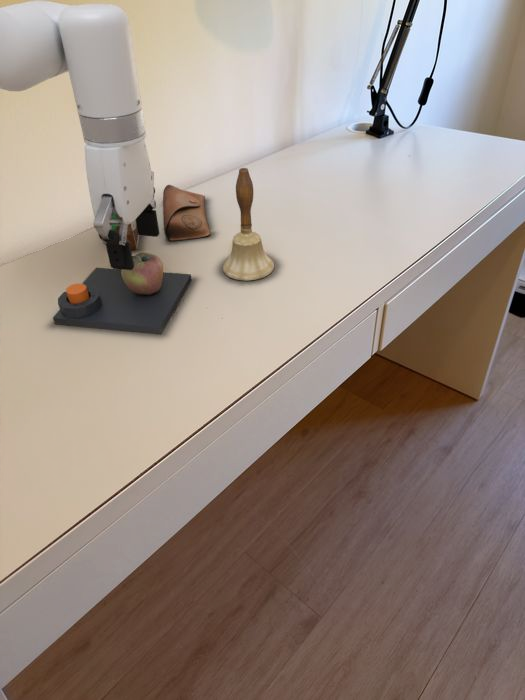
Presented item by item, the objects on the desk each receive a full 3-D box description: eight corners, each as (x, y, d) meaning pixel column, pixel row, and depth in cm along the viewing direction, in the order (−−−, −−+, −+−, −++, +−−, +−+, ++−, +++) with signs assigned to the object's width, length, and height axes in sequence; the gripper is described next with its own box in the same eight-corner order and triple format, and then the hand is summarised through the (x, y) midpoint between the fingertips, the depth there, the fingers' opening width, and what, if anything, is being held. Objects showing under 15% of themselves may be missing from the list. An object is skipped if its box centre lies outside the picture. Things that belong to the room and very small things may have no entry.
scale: (55, 324, 75) (48, 307, 73) (97, 273, 85) (93, 257, 84) (161, 334, 72) (157, 316, 70) (191, 280, 83) (189, 263, 81)
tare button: (65, 303, 74) (62, 293, 73) (74, 292, 76) (71, 282, 75) (83, 305, 74) (80, 294, 73) (92, 294, 76) (89, 284, 75)
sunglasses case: (213, 233, 93) (190, 205, 90) (182, 256, 95) (158, 229, 91) (205, 194, 107) (184, 168, 103) (178, 214, 109) (156, 189, 105)
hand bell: (243, 250, 89) (236, 155, 79) (284, 263, 85) (282, 165, 75) (212, 272, 84) (200, 173, 74) (254, 286, 80) (247, 185, 70)
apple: (121, 307, 75) (111, 271, 72) (130, 278, 81) (122, 244, 78) (163, 305, 75) (155, 269, 71) (169, 276, 81) (163, 242, 78)
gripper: (113, 105, 71) (135, 222, 82) (49, 147, 58) (84, 280, 69) (166, 107, 70) (180, 226, 81) (112, 151, 57) (138, 285, 68)
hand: (136, 250), depth 75 cm, fingers open, 9 cm apart
